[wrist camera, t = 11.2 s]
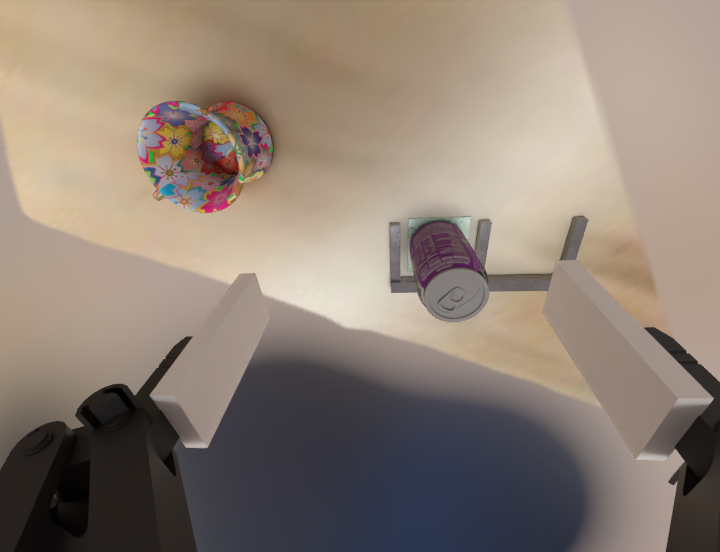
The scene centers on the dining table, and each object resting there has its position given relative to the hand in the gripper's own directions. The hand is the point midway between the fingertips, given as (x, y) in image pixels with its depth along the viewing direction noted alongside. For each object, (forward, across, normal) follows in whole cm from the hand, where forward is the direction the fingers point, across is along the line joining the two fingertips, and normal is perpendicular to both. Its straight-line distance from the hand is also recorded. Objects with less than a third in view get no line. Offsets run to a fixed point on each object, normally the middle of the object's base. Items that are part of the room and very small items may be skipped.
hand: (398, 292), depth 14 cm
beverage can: (+26, +5, -11) cm, 28 cm away
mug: (+26, -19, +3) cm, 32 cm away
